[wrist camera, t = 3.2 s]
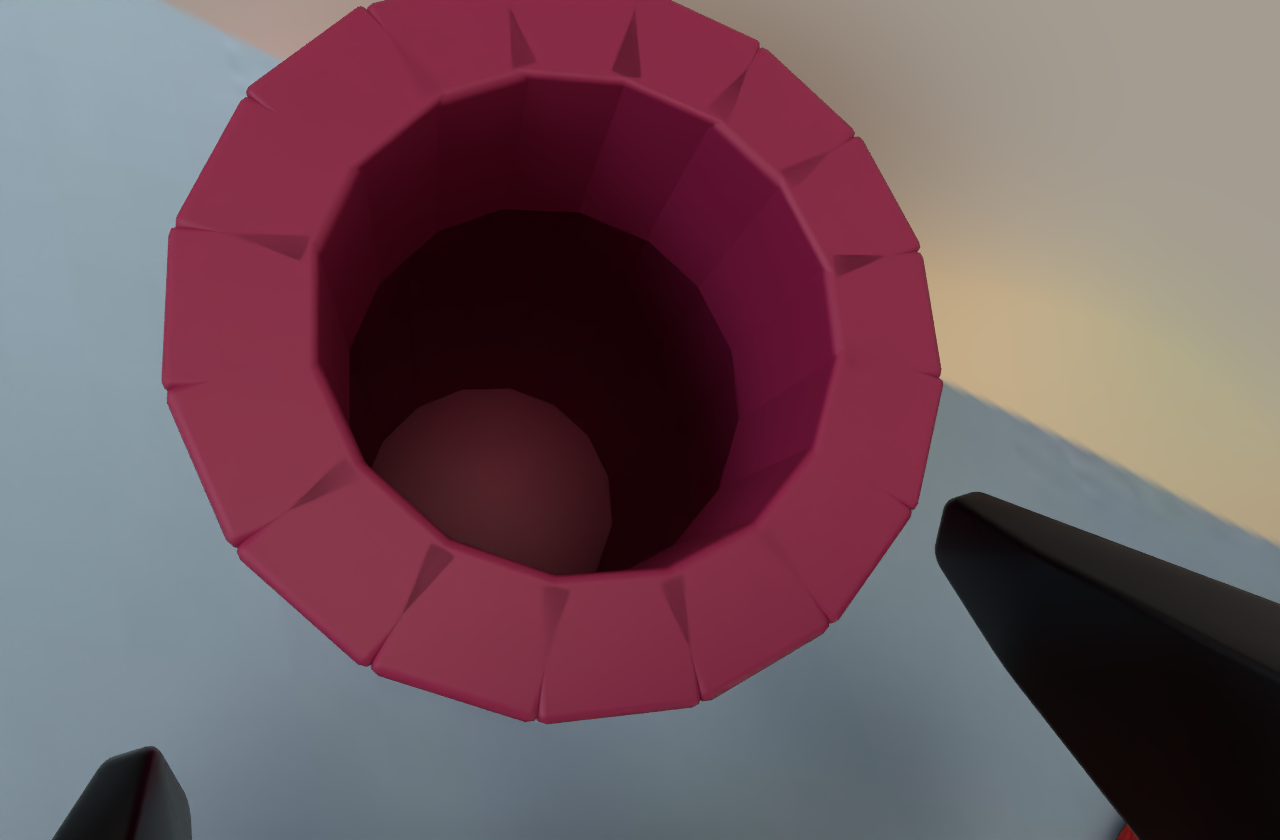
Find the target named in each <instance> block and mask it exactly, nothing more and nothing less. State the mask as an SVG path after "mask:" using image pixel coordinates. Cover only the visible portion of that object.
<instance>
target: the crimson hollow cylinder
mask: <svg viewBox="0 0 1280 840" xmlns="http://www.w3.org/2000/svg"><path fill="white" fill-rule="evenodd" d="M246 93H247V96H248V97H245V98H244V99H243V100H242V101H240V103H239V105H238V107H237V108H236V110H235V112H234V114H233V116H232V117H231V119H230V121H229V123H228V125H227V126H226V128H225V130H224V132H223V134H222V136H221V137H220V139H219V141H218V143H217V145H216V146H215V148H214V150H213V152H212V154H211V155H210V157H209V159H208V161H207V163H206V164H205V166H204V168H203V170H202V172H201V173H200V175H199V177H198V179H197V181H196V183H195V184H194V186H193V188H192V190H191V192H190V193H189V195H188V197H187V199H186V201H185V202H184V204H183V206H182V208H181V210H180V211H179V213H178V215H177V217H176V227H175V228H171V231H170V233H169V237H168V258H167V279H166V300H165V321H164V342H163V363H162V384H163V386H164V388H165V389H166V390H167V391H168V392H167V404H168V406H169V409H170V411H171V413H172V416H173V418H174V420H175V423H176V425H177V427H178V430H179V432H180V434H181V436H182V439H183V441H184V443H185V446H186V448H187V450H188V453H189V455H190V457H191V460H192V462H193V464H194V467H195V469H196V471H197V474H198V476H199V478H200V480H201V483H202V485H203V487H204V490H205V492H206V494H207V497H208V499H209V501H210V504H211V506H212V508H213V511H214V513H215V515H216V517H217V520H218V522H219V524H220V527H221V529H222V531H223V534H224V536H225V538H226V540H227V541H228V542H229V543H230V544H231V545H232V546H233V547H236V548H238V550H237V553H238V556H239V558H240V560H241V561H242V562H243V563H244V564H246V565H247V566H248V567H249V568H250V569H251V570H252V571H253V572H255V573H256V574H257V575H258V576H259V577H260V578H261V579H262V580H264V581H265V582H266V583H267V584H268V585H269V586H270V587H271V588H273V589H274V590H275V591H276V592H277V593H278V594H279V595H280V596H282V597H283V598H284V599H285V600H286V601H287V602H288V603H289V604H291V605H292V606H293V607H294V608H295V609H296V610H297V611H298V612H300V613H301V614H302V615H303V616H304V617H305V618H306V619H307V620H309V621H310V622H311V623H312V624H313V625H314V626H315V627H316V628H318V629H319V630H320V631H321V632H322V633H323V634H324V635H325V636H327V637H328V638H329V639H330V640H331V641H332V642H333V643H334V644H336V645H337V646H338V647H339V648H340V649H341V650H342V651H343V652H345V653H346V654H347V655H348V656H349V657H350V658H351V659H352V660H354V661H355V662H356V663H357V664H359V665H363V666H366V667H367V666H369V665H371V667H372V670H373V671H374V672H375V673H376V674H377V675H378V676H381V677H384V678H387V679H391V680H394V681H397V682H400V683H403V684H406V685H410V686H413V687H416V688H419V689H422V690H425V691H429V692H432V693H435V694H438V695H441V696H445V697H448V698H451V699H454V700H457V701H460V702H464V703H467V704H470V705H473V706H476V707H480V708H483V709H486V710H489V711H492V712H495V713H499V714H502V715H505V716H508V717H511V718H514V719H518V720H521V721H524V722H527V721H534V720H535V719H537V720H538V721H539V722H542V723H545V724H553V723H562V722H570V721H579V720H588V719H597V718H605V717H614V716H623V715H631V714H640V713H649V712H657V711H666V710H675V709H684V708H692V707H694V706H696V705H697V704H699V702H700V700H701V701H708V700H713V699H714V698H716V697H718V696H719V695H721V694H723V693H724V692H726V691H728V690H729V689H731V688H733V687H734V686H736V685H738V684H739V683H741V682H743V681H744V680H746V679H748V678H749V677H751V676H753V675H755V674H756V673H758V672H760V671H761V670H763V669H765V668H766V667H768V666H770V665H771V664H773V663H775V662H776V661H778V660H780V659H781V658H783V657H785V656H786V655H788V654H790V653H791V652H793V651H795V650H796V649H798V648H800V647H801V646H803V645H805V644H806V643H808V642H810V641H812V640H813V639H815V638H817V637H818V636H820V635H822V634H823V633H824V632H825V631H826V629H827V628H828V627H829V623H834V622H836V621H837V620H839V618H840V617H841V616H842V614H843V613H844V611H845V610H846V609H847V607H848V606H849V604H850V603H851V601H852V600H853V599H854V597H855V596H856V594H857V593H858V591H859V590H860V589H861V587H862V586H863V584H864V583H865V581H866V580H867V579H868V577H869V576H870V574H871V573H872V571H873V570H874V569H875V567H876V566H877V564H878V563H879V562H880V560H881V559H882V557H883V556H884V554H885V553H886V552H887V550H888V549H889V547H890V546H891V544H892V543H893V542H894V540H895V539H896V537H897V536H898V534H899V533H900V532H901V530H902V529H903V527H904V526H905V524H906V523H907V522H908V520H909V519H910V517H911V513H912V512H911V510H913V509H915V508H916V506H917V504H918V501H919V496H920V491H921V486H922V482H923V477H924V472H925V468H926V463H927V458H928V454H929V449H930V444H931V439H932V435H933V430H934V425H935V421H936V416H937V411H938V406H939V402H940V397H941V392H942V388H943V381H942V380H941V379H940V378H939V377H940V374H941V364H940V358H939V352H938V346H937V340H936V334H935V328H934V321H933V315H932V309H931V303H930V297H929V291H928V285H927V279H926V273H925V266H924V260H923V257H922V255H921V254H920V253H918V252H917V251H918V250H919V248H920V244H919V241H918V239H917V238H916V236H915V234H914V232H913V230H912V228H911V227H910V225H909V223H908V221H907V219H906V218H905V216H904V214H903V212H902V210H901V209H900V207H899V205H898V203H897V201H896V199H895V198H894V196H893V194H892V192H891V190H890V189H889V187H888V185H887V183H886V181H885V180H884V178H883V176H882V174H881V172H880V170H879V169H878V167H877V165H876V163H875V161H874V160H873V158H872V156H871V154H870V152H869V150H868V149H867V147H866V145H865V143H864V141H863V140H862V139H861V138H860V137H854V134H855V133H854V131H853V129H852V128H851V127H850V126H849V125H848V124H847V123H846V122H845V121H844V120H843V119H842V118H841V117H840V116H838V115H837V114H836V113H835V112H834V111H833V110H832V109H831V108H830V107H829V106H828V105H826V104H825V103H824V102H823V101H822V100H821V99H820V98H819V97H818V96H817V95H816V94H815V93H814V92H812V91H811V90H810V89H809V88H808V87H807V86H806V85H805V84H804V83H803V82H802V81H801V80H800V79H799V78H797V77H796V76H795V75H794V74H793V73H792V72H791V71H790V70H789V69H788V68H787V67H786V66H784V65H783V64H782V63H781V62H780V61H779V60H778V59H777V58H776V57H775V56H774V55H773V54H772V53H770V52H769V51H768V50H767V49H764V48H760V49H759V42H758V41H757V40H755V39H753V38H751V37H749V36H747V35H745V34H743V33H740V32H738V31H736V30H734V29H732V28H730V27H728V26H725V25H723V24H721V23H719V22H716V21H715V20H712V19H710V18H708V17H705V16H704V15H702V14H699V13H697V12H695V11H693V10H691V9H689V8H686V7H684V6H682V5H680V4H678V3H676V2H674V1H671V0H384V1H381V2H376V3H373V4H372V5H370V6H369V7H368V8H367V10H366V9H365V8H364V7H361V6H360V7H357V8H356V9H354V10H353V11H352V12H350V13H349V14H348V15H346V16H345V17H343V18H342V19H341V20H339V21H338V22H337V23H335V24H334V25H332V26H331V27H330V28H328V29H327V30H326V31H324V32H323V33H322V34H320V35H319V36H317V37H316V38H315V39H313V40H312V41H311V42H309V43H308V44H306V45H305V46H304V47H302V48H301V49H300V50H298V51H297V52H295V53H294V54H293V55H291V56H290V57H289V58H287V59H286V60H284V61H283V62H282V63H280V64H279V65H278V66H276V67H275V68H274V69H272V70H271V71H269V72H268V73H267V74H265V75H264V76H263V77H261V78H260V79H258V80H257V81H256V82H254V83H253V84H252V85H250V86H249V87H248V89H247V91H246Z"/></svg>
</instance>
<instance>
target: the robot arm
mask: <svg viewBox="0 0 1280 840" xmlns="http://www.w3.org/2000/svg"><path fill="white" fill-rule="evenodd" d="M935 555H936V559H937V562H938V564H939V566H940V568H941V570H942V571H943V573H944V574H945V576H946V578H947V579H948V581H949V582H950V584H951V585H952V587H953V588H954V590H955V592H956V593H957V595H958V596H959V598H960V599H961V601H962V603H963V604H964V606H965V607H966V609H967V610H968V612H969V614H970V615H971V617H972V618H973V620H974V621H975V623H976V625H977V626H978V628H979V629H980V631H981V632H982V634H983V636H984V637H985V639H986V640H987V642H988V643H989V645H990V647H991V648H992V650H993V651H994V653H995V654H996V656H997V657H998V659H999V660H1000V662H1001V663H1002V664H1003V666H1004V667H1005V669H1006V670H1007V671H1008V673H1009V674H1010V675H1011V677H1012V678H1013V679H1014V681H1015V682H1016V683H1017V685H1018V686H1019V687H1020V689H1021V690H1022V691H1023V692H1024V694H1025V695H1026V696H1027V697H1028V699H1029V700H1030V701H1031V703H1032V704H1033V705H1034V706H1035V708H1036V709H1037V710H1038V712H1039V713H1040V714H1041V715H1042V717H1043V718H1044V719H1045V720H1046V722H1047V723H1048V724H1049V726H1050V727H1051V728H1052V729H1053V731H1054V732H1055V733H1056V735H1057V736H1058V737H1059V738H1060V740H1061V741H1062V742H1063V743H1064V745H1065V746H1066V747H1067V749H1068V750H1069V751H1070V752H1071V754H1072V755H1073V756H1074V758H1075V759H1076V760H1077V761H1078V763H1079V764H1080V765H1081V766H1082V768H1083V769H1084V770H1085V772H1086V773H1087V774H1088V775H1089V777H1090V778H1091V779H1092V781H1093V782H1094V783H1095V784H1096V786H1097V787H1098V788H1099V789H1100V791H1101V792H1102V793H1103V795H1104V796H1105V797H1106V798H1107V800H1108V801H1109V802H1110V804H1111V805H1112V806H1113V807H1114V809H1115V810H1116V811H1117V812H1118V814H1119V815H1120V816H1121V818H1122V819H1123V820H1124V821H1125V823H1126V824H1127V825H1128V827H1129V828H1130V829H1131V830H1132V832H1133V833H1134V834H1135V835H1136V837H1137V838H1138V839H1139V840H1280V604H1278V603H1276V602H1273V601H1270V600H1268V599H1265V598H1262V597H1260V596H1257V595H1254V594H1252V593H1249V592H1246V591H1244V590H1241V589H1238V588H1236V587H1233V586H1230V585H1228V584H1225V583H1222V582H1220V581H1217V580H1214V579H1212V578H1209V577H1206V576H1204V575H1201V574H1198V573H1196V572H1193V571H1190V570H1188V569H1185V568H1182V567H1180V566H1177V565H1174V564H1172V563H1169V562H1166V561H1164V560H1161V559H1158V558H1156V557H1153V556H1150V555H1148V554H1145V553H1142V552H1140V551H1137V550H1134V549H1132V548H1129V547H1126V546H1124V545H1121V544H1118V543H1116V542H1113V541H1110V540H1108V539H1105V538H1102V537H1100V536H1097V535H1094V534H1092V533H1089V532H1086V531H1084V530H1081V529H1078V528H1076V527H1073V526H1070V525H1068V524H1065V523H1062V522H1060V521H1057V520H1054V519H1052V518H1049V517H1046V516H1044V515H1041V514H1038V513H1036V512H1033V511H1030V510H1028V509H1025V508H1022V507H1020V506H1017V505H1014V504H1012V503H1009V502H1006V501H1004V500H1001V499H998V498H996V497H993V496H990V495H988V494H985V493H982V492H972V493H968V494H965V495H962V496H958V497H955V498H952V499H950V500H949V501H948V502H947V503H946V504H945V506H944V509H943V514H942V518H941V522H940V527H939V531H938V535H937V540H936V544H935ZM52 840H192V831H191V816H190V809H189V804H188V800H187V798H186V795H185V793H184V791H183V789H182V787H181V786H180V784H179V782H178V780H177V779H176V777H175V775H174V774H173V772H172V770H171V768H170V767H169V765H168V763H167V762H166V760H165V758H164V756H163V755H162V753H161V752H160V751H159V750H158V749H157V748H156V747H153V746H149V747H147V746H146V747H143V748H140V749H137V750H133V751H130V752H127V753H124V754H120V755H117V756H114V757H112V758H109V759H108V760H106V761H105V762H104V763H103V764H102V765H101V766H100V767H99V769H98V770H97V772H96V773H95V775H94V776H93V778H92V779H91V781H90V782H89V784H88V785H87V787H86V788H85V790H84V791H83V793H82V795H81V796H80V798H79V799H78V801H77V802H76V804H75V805H74V807H73V808H72V810H71V811H70V813H69V814H68V816H67V817H66V819H65V820H64V822H63V823H62V825H61V826H60V828H59V830H58V831H57V833H56V834H55V836H54V837H53V839H52Z"/></svg>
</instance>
